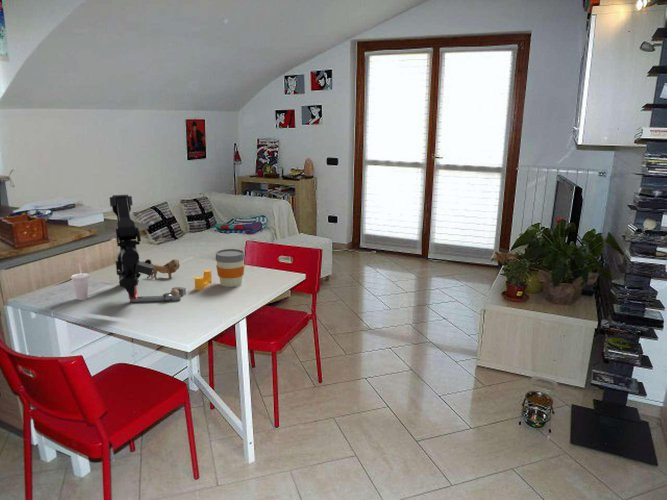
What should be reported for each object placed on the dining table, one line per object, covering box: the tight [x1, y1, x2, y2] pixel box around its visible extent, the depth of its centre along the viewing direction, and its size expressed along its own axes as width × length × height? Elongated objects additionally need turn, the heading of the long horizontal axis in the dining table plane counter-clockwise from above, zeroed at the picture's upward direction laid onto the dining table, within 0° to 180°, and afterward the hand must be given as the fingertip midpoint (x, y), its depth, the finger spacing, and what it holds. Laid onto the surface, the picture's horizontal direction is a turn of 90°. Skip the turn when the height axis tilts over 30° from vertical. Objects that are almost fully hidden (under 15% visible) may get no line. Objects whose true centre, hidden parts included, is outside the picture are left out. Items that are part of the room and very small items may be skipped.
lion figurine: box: [146, 258, 180, 281], centre depth 225 cm, size 15×5×9 cm, turn 104°
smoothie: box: [70, 264, 90, 301], centre depth 199 cm, size 6×6×14 cm
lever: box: [127, 285, 182, 303], centre depth 196 cm, size 19×4×8 cm, turn 100°
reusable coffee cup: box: [215, 248, 246, 288], centre depth 218 cm, size 13×13×15 cm
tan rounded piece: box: [169, 289, 179, 295], centre depth 201 cm, size 4×4×4 cm
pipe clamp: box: [194, 269, 213, 291], centre depth 215 cm, size 12×4×6 cm, turn 172°
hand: (133, 295), depth 194 cm, fingers open, 4 cm apart
